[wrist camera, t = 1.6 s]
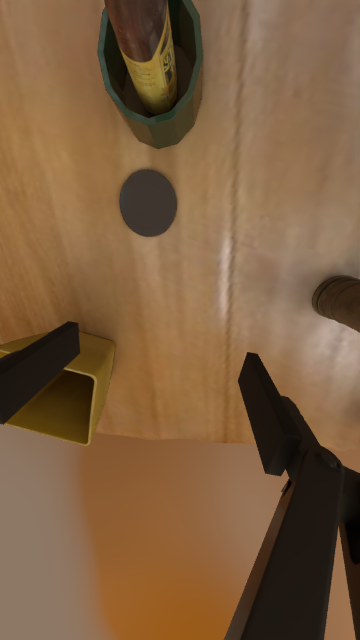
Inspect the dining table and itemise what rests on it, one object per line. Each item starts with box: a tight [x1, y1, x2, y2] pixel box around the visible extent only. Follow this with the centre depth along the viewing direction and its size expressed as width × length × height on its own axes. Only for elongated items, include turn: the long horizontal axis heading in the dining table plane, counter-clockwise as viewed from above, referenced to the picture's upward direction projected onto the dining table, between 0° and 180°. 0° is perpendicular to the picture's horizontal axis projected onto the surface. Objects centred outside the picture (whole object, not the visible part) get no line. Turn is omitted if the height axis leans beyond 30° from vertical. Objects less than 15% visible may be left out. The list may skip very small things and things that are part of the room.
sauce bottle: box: [105, 0, 178, 117], centre depth 21 cm, size 7×6×20 cm
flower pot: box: [0, 332, 116, 446], centre depth 43 cm, size 19×19×17 cm
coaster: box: [120, 170, 177, 237], centre depth 36 cm, size 11×11×1 cm
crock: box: [97, 0, 203, 149], centre depth 27 cm, size 13×13×7 cm
